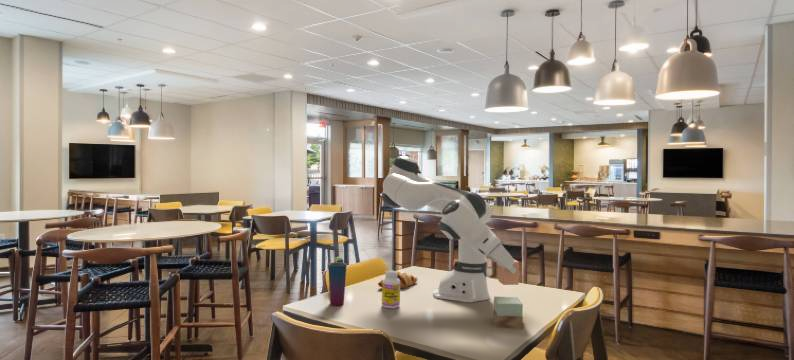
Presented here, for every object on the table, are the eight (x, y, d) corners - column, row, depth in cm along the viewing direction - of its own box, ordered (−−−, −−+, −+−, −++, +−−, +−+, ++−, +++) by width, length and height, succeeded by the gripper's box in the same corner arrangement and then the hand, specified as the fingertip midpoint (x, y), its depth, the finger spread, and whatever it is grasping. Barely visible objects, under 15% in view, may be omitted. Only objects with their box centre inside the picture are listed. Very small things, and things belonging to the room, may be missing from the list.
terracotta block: (503, 284, 146) (504, 261, 145) (498, 281, 151) (499, 258, 150) (518, 284, 146) (518, 261, 146) (512, 281, 151) (513, 258, 151)
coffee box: (333, 286, 192) (334, 256, 191) (340, 286, 192) (341, 256, 192) (336, 291, 184) (336, 260, 184) (343, 291, 185) (343, 259, 184)
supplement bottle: (381, 308, 162) (382, 273, 162) (382, 303, 169) (382, 269, 168) (399, 309, 162) (400, 273, 162) (399, 303, 169) (400, 269, 168)
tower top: (497, 315, 145) (497, 303, 145) (493, 308, 153) (494, 296, 153) (522, 316, 144) (522, 304, 144) (517, 308, 152) (517, 297, 152)
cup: (328, 301, 170) (328, 262, 170) (346, 301, 171) (346, 262, 170) (327, 306, 163) (327, 265, 163) (345, 306, 164) (346, 265, 164)
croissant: (412, 289, 203) (407, 272, 206) (426, 282, 196) (420, 265, 199) (374, 295, 190) (370, 277, 193) (388, 289, 183) (383, 270, 186)
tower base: (493, 327, 145) (494, 315, 145) (493, 318, 154) (494, 307, 154) (522, 330, 143) (522, 317, 143) (520, 321, 152) (521, 309, 152)
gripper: (467, 242, 157) (493, 269, 158) (485, 252, 137) (515, 284, 138) (479, 229, 158) (506, 257, 159) (499, 238, 137) (529, 269, 139)
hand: (510, 269), depth 148 cm, fingers closed on terracotta block, 5 cm apart
